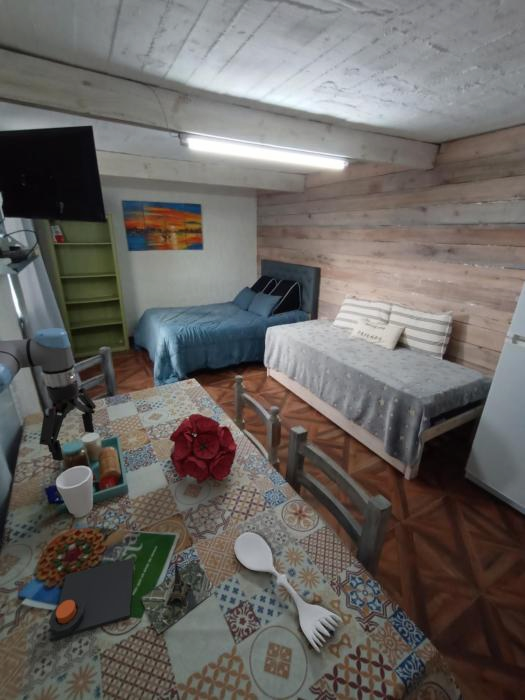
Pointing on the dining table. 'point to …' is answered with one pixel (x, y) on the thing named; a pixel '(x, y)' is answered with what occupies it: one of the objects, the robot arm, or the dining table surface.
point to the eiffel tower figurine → (177, 595)
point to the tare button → (66, 611)
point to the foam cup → (76, 490)
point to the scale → (95, 598)
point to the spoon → (259, 558)
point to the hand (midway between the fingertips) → (75, 444)
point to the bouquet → (202, 449)
